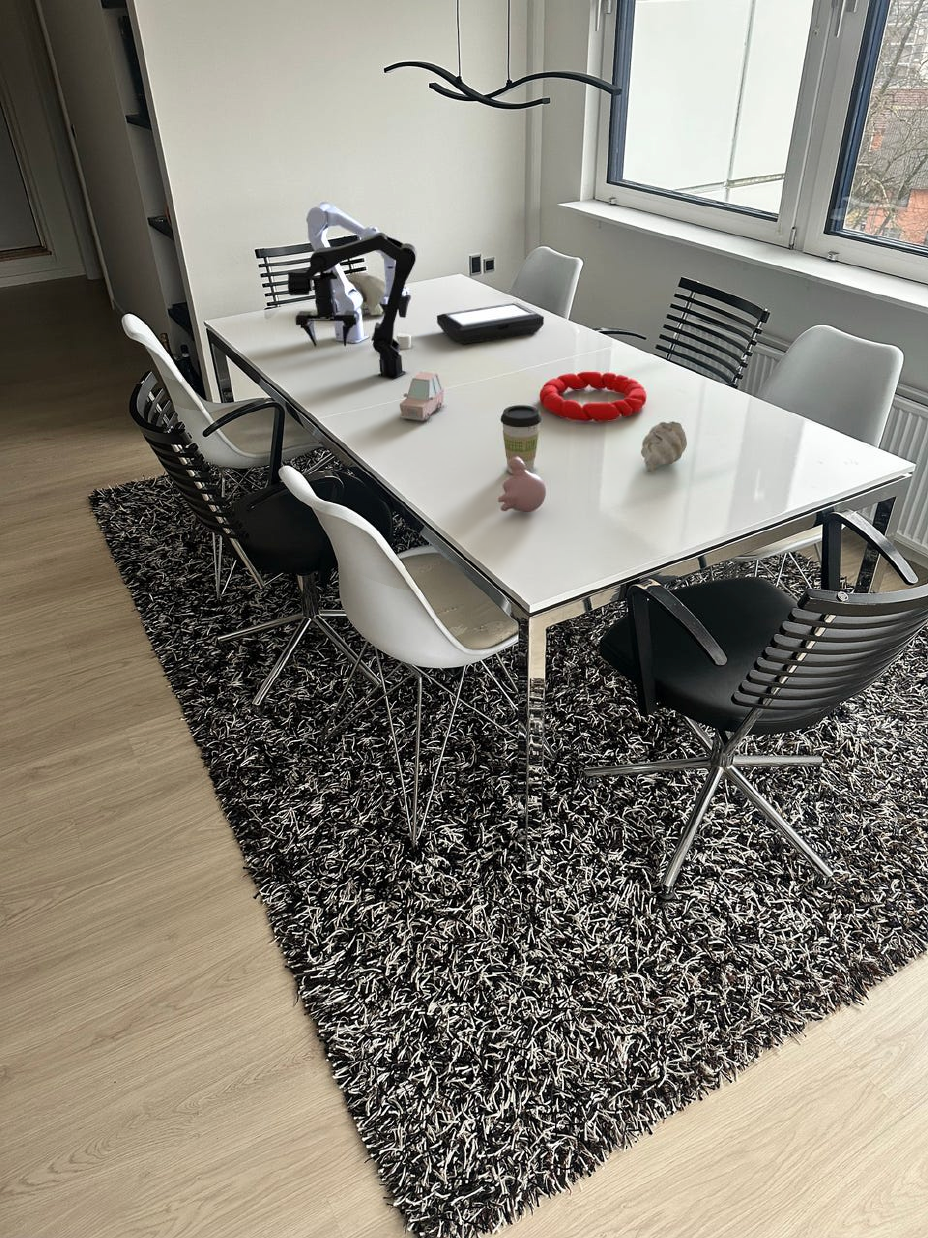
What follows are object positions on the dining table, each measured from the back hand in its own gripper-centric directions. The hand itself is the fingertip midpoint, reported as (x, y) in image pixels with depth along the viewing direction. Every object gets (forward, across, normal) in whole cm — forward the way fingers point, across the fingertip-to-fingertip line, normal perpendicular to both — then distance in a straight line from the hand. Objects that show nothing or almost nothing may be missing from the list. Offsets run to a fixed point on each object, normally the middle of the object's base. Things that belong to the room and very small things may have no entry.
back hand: (396, 320), depth 305 cm
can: (+7, -5, -6) cm, 10 cm away
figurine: (+7, -96, -93) cm, 134 cm away
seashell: (+8, -58, -113) cm, 128 cm away
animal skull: (+7, +27, +32) cm, 42 cm away
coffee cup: (+7, -76, -84) cm, 113 cm away
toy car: (+7, -54, -42) cm, 69 cm away
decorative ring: (+8, -28, -83) cm, 88 cm away
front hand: (-2, -39, -1) cm, 39 cm away
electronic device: (+7, +21, -25) cm, 33 cm away
